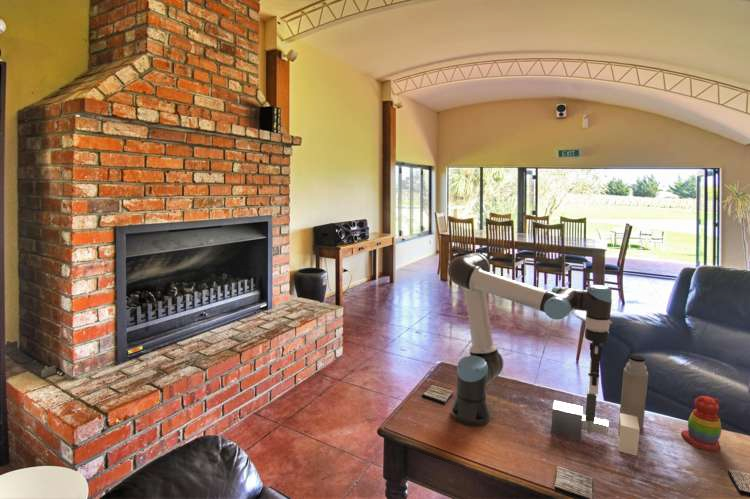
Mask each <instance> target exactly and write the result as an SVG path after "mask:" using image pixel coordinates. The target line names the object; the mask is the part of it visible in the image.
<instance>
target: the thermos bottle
mask: <svg viewBox="0 0 750 499" xmlns="http://www.w3.org/2000/svg"><path fill="white" fill-rule="evenodd" d="M645 360H646V358H645V357H644V356H642V355H638V354H637V355H636V354H631V355H629V361H628V362H626V365H625V367H624V368H623V372H622V373H623V376H622V383H621V384H622V387H621V396H620V405H619V414H620V413H622V414H627V415H632V416H636V417H637V418H638V424H639V429H640V431H639V432H641V431H642V430H643V429H644V422H645V411H646V398H647V393H648V392H647V391H648V384H649V383H648V382H649V372H648V368H647V366H646V365H645Z"/></svg>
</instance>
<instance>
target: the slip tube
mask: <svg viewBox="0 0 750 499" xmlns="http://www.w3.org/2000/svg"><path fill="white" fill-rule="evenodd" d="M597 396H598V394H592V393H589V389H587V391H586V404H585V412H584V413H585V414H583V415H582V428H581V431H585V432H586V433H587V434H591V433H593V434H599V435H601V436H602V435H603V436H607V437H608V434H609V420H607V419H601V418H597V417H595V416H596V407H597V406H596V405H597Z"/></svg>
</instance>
